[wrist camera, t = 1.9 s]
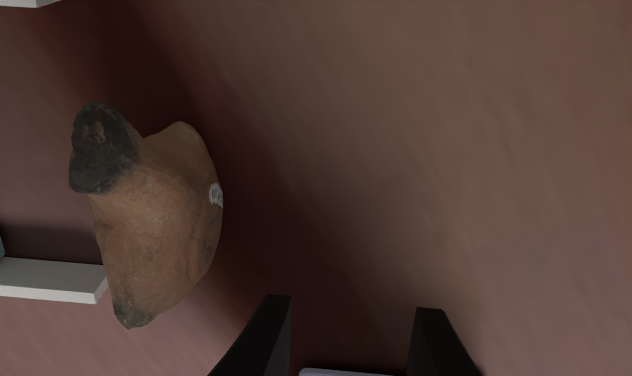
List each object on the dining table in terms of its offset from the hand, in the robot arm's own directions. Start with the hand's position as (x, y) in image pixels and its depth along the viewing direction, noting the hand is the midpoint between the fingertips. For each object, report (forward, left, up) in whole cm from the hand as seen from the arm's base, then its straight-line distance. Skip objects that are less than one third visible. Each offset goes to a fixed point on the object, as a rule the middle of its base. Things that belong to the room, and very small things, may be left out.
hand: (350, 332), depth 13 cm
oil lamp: (+7, 0, -10) cm, 12 cm away
